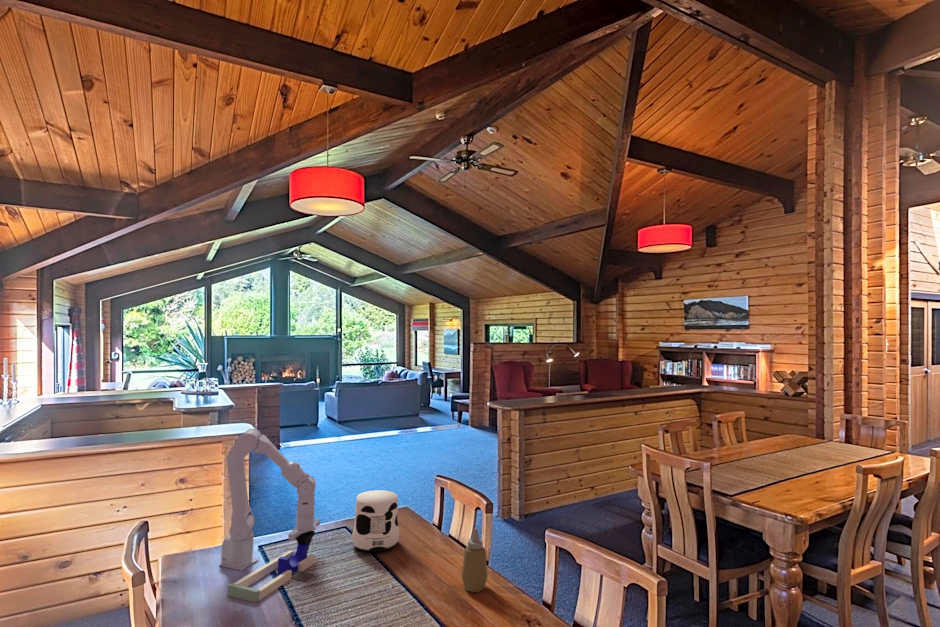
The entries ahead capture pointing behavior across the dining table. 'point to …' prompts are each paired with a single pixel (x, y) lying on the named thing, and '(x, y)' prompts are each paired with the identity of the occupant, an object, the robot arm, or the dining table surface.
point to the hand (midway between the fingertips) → (303, 553)
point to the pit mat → (303, 576)
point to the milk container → (375, 521)
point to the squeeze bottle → (474, 564)
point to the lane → (254, 595)
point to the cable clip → (292, 560)
